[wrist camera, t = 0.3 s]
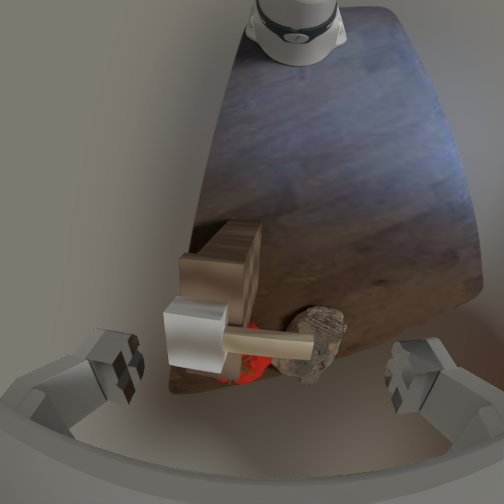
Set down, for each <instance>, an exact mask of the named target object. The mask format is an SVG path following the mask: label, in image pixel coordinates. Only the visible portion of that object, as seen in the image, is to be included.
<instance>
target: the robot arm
mask: <svg viewBox="0 0 504 504" xmlns="http://www.w3.org/2000/svg"><path fill="white" fill-rule="evenodd" d="M251 11H252V12H251V15H250V18H249V21H248V24H247V27H246V31H245V32H246V36H247V37H248V38H250V39H251V40H253V41H255V42H257V43H258V44H259V45H260V46H261V48H262V49H263V50H264V52H265V53H266V54H267V55H268V56H270V57H271V58H272V59H274V60H276V61H278V62H280V63H283V64H286V65H291V66H307V65H311V64H314V63H317V62H319V61H321V60H322V59H324V58H325V57H326V56H327V55H328V54H329V53H330V52H331V51H332V50H333V49H334V48H336V47H338V46H341V45H343V44H344V43H345V42H346V39H347V38H346V33H345V30H344V26H343V22H342V19H341V15H340V12H339V8H338V5H337V0H255V3H254V5H252V7H251ZM251 27H253V28H251ZM340 33H341V34H340ZM139 345H140V344H139V341H138V338H137V336H136V335H134V334H130V333H124V332H118V331H112V330H106V329H100V328H96V329H93V330H92V332H91V333H90V334H89V335H88V337H87V338H86V339H85V340H84V341H83V343H82V344H81V345H80V346H79V348H78V349H77V350H76V351H75V353H74V354H73V355H72V356H70V355H67V356H65V357H63V358H61V359H59V360H57V361H54V362H52V363H50V364H48V365H46V366H43V367H41V368H39V369H37V370H35V371H32V372H30V373H28V374H26V375H24V376H21V377H19V378H17V379H16V380H15V381H14V382H13V383H12V384H11V386H10V387H9V388H8V389H7V391H6V392H5V393H4V394H3V396H2V397H1V398H0V504H504V392H503V391H501V390H499V389H498V388H496V387H494V386H493V385H491V384H489V383H487V382H486V381H484V380H482V379H480V378H479V377H477V376H475V375H473V374H472V373H470V372H468V371H467V370H465V369H463V368H461V367H459V368H457V367H456V365H455V363H454V362H453V360H452V359H451V357H450V355H449V354H448V352H447V351H446V349H445V348H444V346H443V344H442V343H441V341H440V340H439V339H438V338H436V337H432V338H425V339H419V340H409V341H398V342H395V344H394V345H393V348H392V351H391V352H392V354H393V358H392V359H390V360H389V361H388V363H387V366H386V369H385V383H386V386H387V389H388V390H389V391H390V392H392V393H393V396H392V398H391V401H392V404H393V407H394V409H395V413H396V415H397V414H405V413H412V412H418V411H420V412H419V413H420V414H421V415H423V416H424V418H426V419H427V420H428V421H429V422H430V423H431V424H432V425H433V426H434V427H435V428H436V429H438V430H439V431H440V432H441V433H442V434H443V435H444V436H445V437H446V438H447V439H448V440H450V441H451V442H452V443H453V445H452V446H451V448H450V449H449V450H448V451H447V453H446V454H445V455H442V456H438V457H435V458H431V459H428V460H424V461H420V462H416V463H412V464H407V465H403V466H398V467H393V468H388V469H382V470H376V471H370V472H363V473H356V474H347V475H338V476H325V477H307V478H261V477H242V476H230V475H220V474H211V473H203V472H197V471H190V470H184V469H179V468H173V467H168V466H163V465H159V464H154V463H150V462H145V461H142V460H138V459H134V458H130V457H126V456H123V455H119V454H116V453H113V452H110V451H107V450H103V449H100V448H98V447H94V446H92V445H89V444H86V443H84V442H81V441H78V440H76V439H75V437H74V436H73V435H72V433H71V432H70V430H69V428H71V427H72V426H74V425H75V424H76V423H78V422H79V421H81V420H82V419H83V418H85V417H86V416H87V415H89V414H90V413H92V412H93V411H94V410H96V409H97V408H98V407H100V406H101V405H103V404H104V403H105V402H106V400H108V401H113V402H117V403H122V404H127V405H129V404H130V401H131V399H132V397H133V395H134V393H135V391H136V390H135V387H134V385H135V384H137V383H139V382H140V381H141V379H142V377H143V374H144V369H145V365H144V358H143V355H142V354H141V353H140V352H139V351H138V350H137V348H138V346H139Z"/></svg>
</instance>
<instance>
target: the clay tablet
mask: <svg viewBox="0 0 504 504" xmlns="http://www.w3.org/2000/svg"><path fill="white" fill-rule="evenodd" d="M346 328H347V326H346V324H345V322H344V321H343V314H342V312H341V311H339V310H336V309H333V308H327V307H323V306H315V307H310V308H308V309H307V310H306V311H304V312H301V313H300V314H297V315H296V316H295V318H294V319H293V320H292V321H291V323H290V324H289V326H288V327H287V330H286V331H285V332H292V333H305V334H313V337H314V345H313V350H312V355H311V360H300V359H287V358H276V357H273V358H272V361H271V363H270V364H272V365H273V366H274V367H275V368H276V369H278V370H279V371H280V373H282V374H283V375H288V376H290V377H296V378H298V379H299V380H300V382H301V383H304V384H312V383H314V382H316V381H317V380H318V379H319V377H320V376H321V372H322V371H323V370H324V369H326V368H327V367H328V366H329V365H330V364H331V362H332V361H333V360H334V358H335V357H334V356H335V355H336V354H337V351H338V347H339V344H340V342H341V338H342V336H343V334H344V332H345V331H346Z"/></svg>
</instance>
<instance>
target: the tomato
mask: <svg viewBox="0 0 504 504" xmlns="http://www.w3.org/2000/svg"><path fill="white" fill-rule="evenodd" d="M248 328H251V329H259V328H258V327H257V326H256V325H255V324H254V323H253V322H252V321H249V325H248ZM272 358H273V357H266V356H256V355H248V354H242V367H241V374H240V379H239V381H236V380H229V379H222V378H216V377H215V378H216V379H218V380H219V381H221V382H227V381H229V384H230V382H231V381H234V382H235V383H236V384H240V383H246V382H250V381H252V380H254V379H256V378H258V377H260V376H261V375H262V373H263V371H264V369H265V367H267V366H268V365H269V364H270V363H271V361H272Z"/></svg>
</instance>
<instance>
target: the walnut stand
mask: <svg viewBox="0 0 504 504" xmlns="http://www.w3.org/2000/svg"><path fill="white" fill-rule="evenodd" d="M261 228H262V221H251V220H238V219H230V220H229V221H228V222H227V223H226V224H225V225H224V226H223V227H222V228H221V229H220V230H219V231H218V232H217V233H216V234H215V235H214V236H213V237H212V238H211V239H210V240H209V241H208V243H207V244H206V245H205V246H204V247H203V248H202V249H201V250H200V251H199V252H198V253H197V254H193V253H184V254H183V255H182V256H181V257H180V258H179V265H180V266H179V269H180V292H181V296H184V297H191V298H199V299H207V300H215V301H223V302H228V326H234V327H242V328H248V325H249V321H250V317H251V313H252V309H253V306H254V302H255V298H256V294H257V290H258V276H259V260H260V244H261ZM241 367H242V354H239V353H232V352H228V353H227V356H226V359H225V362H224V365H223V368H222V371H221V374H220V373H213V372H207V371H201V370H195V369H190V368H186V371H187V373H192V374H198V375H204V376H210V377H216V378H222V379H229V380H236V381H239V379H240V374H241Z"/></svg>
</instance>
